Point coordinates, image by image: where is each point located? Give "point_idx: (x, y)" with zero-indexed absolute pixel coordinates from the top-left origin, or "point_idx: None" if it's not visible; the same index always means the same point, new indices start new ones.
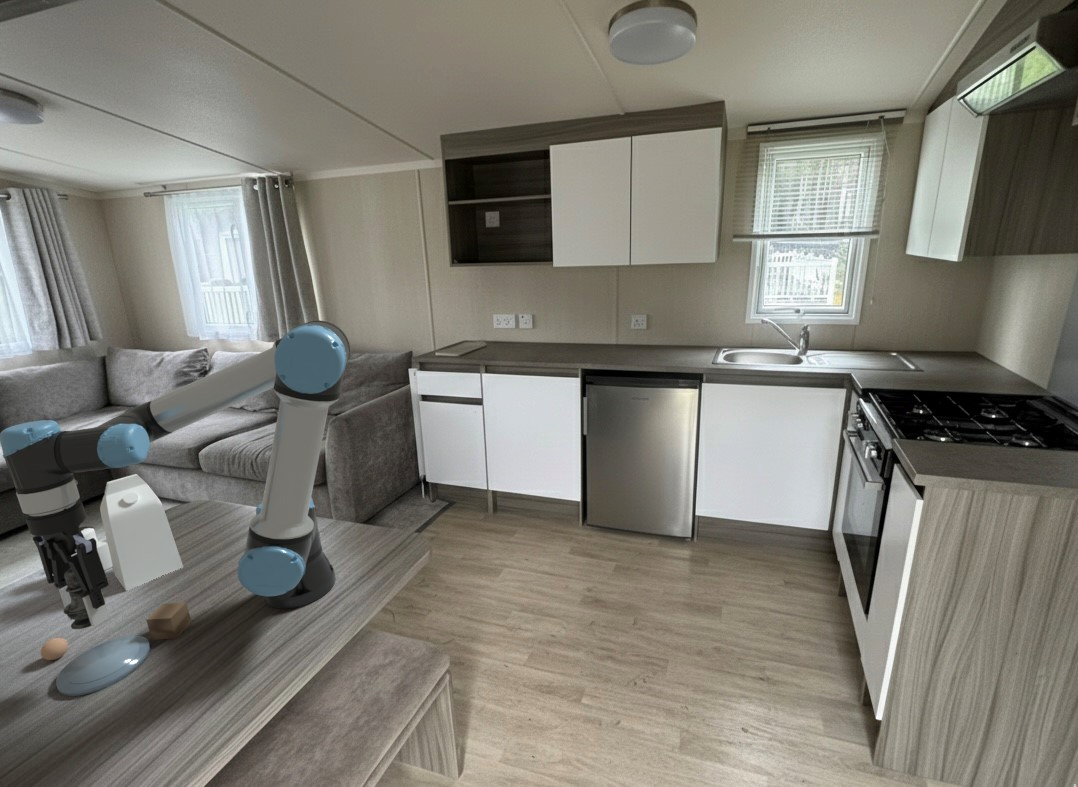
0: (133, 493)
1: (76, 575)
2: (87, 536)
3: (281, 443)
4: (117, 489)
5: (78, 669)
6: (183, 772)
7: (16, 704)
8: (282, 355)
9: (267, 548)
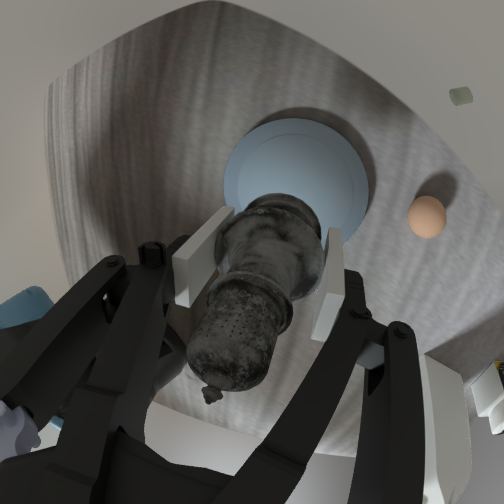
0: None
1: (133, 323)
2: (496, 423)
3: None
4: None
5: (325, 167)
6: (48, 90)
7: (379, 95)
8: None
9: None
